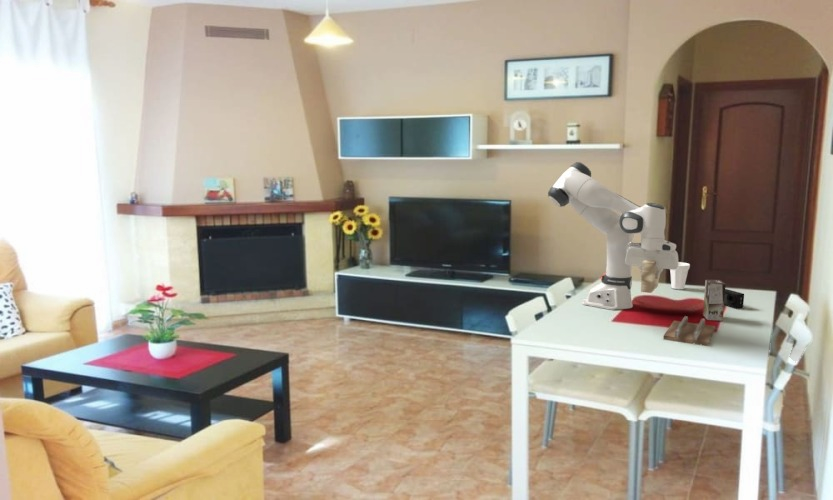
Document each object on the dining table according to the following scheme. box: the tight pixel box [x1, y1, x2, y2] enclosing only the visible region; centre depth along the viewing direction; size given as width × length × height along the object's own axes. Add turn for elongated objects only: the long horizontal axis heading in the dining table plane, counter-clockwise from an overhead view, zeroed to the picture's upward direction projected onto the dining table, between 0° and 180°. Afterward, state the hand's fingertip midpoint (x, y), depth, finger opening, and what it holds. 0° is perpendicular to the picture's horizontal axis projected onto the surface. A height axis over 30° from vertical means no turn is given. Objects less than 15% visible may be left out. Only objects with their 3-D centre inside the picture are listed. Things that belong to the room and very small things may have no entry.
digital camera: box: [724, 288, 745, 310], centre depth 307 cm, size 10×5×7 cm, turn 22°
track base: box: [662, 315, 716, 346], centre depth 263 cm, size 16×24×4 cm, turn 150°
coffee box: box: [702, 279, 727, 322], centre depth 286 cm, size 9×6×16 cm
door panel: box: [640, 260, 660, 294], centre depth 268 cm, size 4×14×12 cm, turn 150°
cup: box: [669, 261, 691, 290], centre depth 341 cm, size 10×10×13 cm
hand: (650, 277), depth 268 cm, fingers closed on door panel, 4 cm apart
